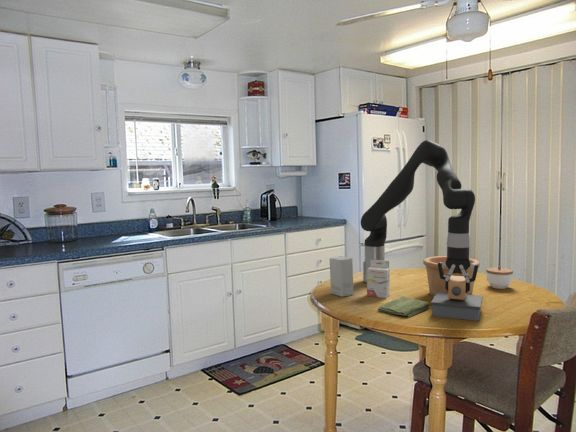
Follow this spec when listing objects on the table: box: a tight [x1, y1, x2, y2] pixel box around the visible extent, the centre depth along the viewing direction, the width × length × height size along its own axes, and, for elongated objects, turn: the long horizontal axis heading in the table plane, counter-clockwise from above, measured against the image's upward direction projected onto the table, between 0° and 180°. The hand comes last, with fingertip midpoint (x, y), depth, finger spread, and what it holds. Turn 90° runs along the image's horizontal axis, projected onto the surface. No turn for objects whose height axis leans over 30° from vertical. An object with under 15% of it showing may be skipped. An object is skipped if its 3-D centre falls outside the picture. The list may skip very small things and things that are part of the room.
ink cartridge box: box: [366, 260, 391, 299], centre depth 189 cm, size 9×5×15 cm, turn 65°
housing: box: [448, 276, 467, 300], centre depth 164 cm, size 11×6×6 cm, turn 155°
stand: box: [430, 292, 484, 322], centre depth 165 cm, size 16×16×5 cm
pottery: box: [422, 255, 481, 298], centre depth 189 cm, size 22×22×14 cm
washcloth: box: [377, 295, 431, 318], centre depth 169 cm, size 13×18×3 cm
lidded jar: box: [485, 265, 514, 290], centre depth 200 cm, size 11×11×9 cm
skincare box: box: [329, 256, 354, 298], centre depth 193 cm, size 8×7×16 cm
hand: (457, 291), depth 164 cm, fingers closed on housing, 5 cm apart
